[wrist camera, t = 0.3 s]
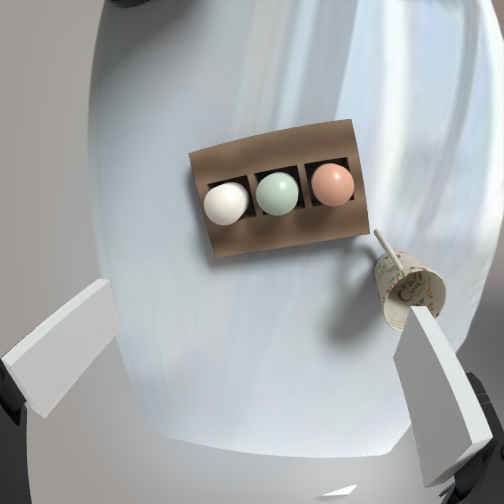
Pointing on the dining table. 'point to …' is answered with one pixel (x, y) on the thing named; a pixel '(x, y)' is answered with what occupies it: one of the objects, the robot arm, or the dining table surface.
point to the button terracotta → (332, 184)
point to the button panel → (309, 213)
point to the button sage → (277, 193)
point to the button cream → (226, 203)
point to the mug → (406, 285)
